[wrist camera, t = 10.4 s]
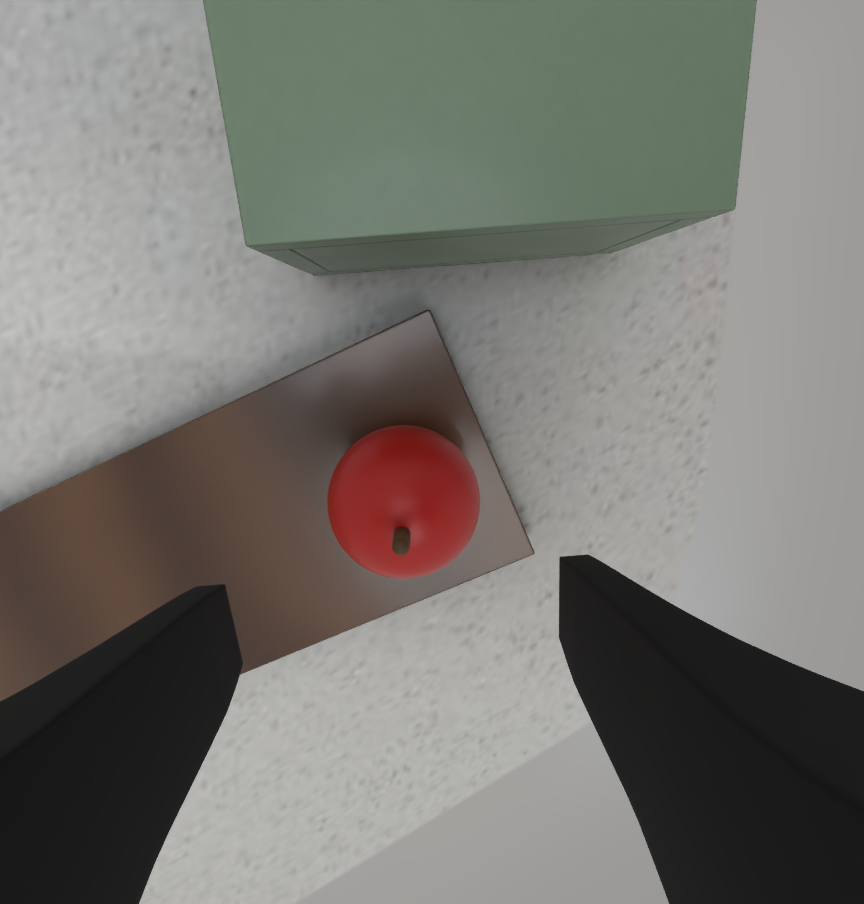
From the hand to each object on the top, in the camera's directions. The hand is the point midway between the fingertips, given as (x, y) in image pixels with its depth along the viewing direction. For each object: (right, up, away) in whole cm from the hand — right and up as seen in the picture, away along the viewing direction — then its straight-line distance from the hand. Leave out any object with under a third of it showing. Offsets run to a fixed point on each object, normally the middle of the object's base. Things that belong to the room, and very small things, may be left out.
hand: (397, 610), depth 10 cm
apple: (0, +2, +8) cm, 9 cm away
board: (-15, -4, +11) cm, 19 cm away
